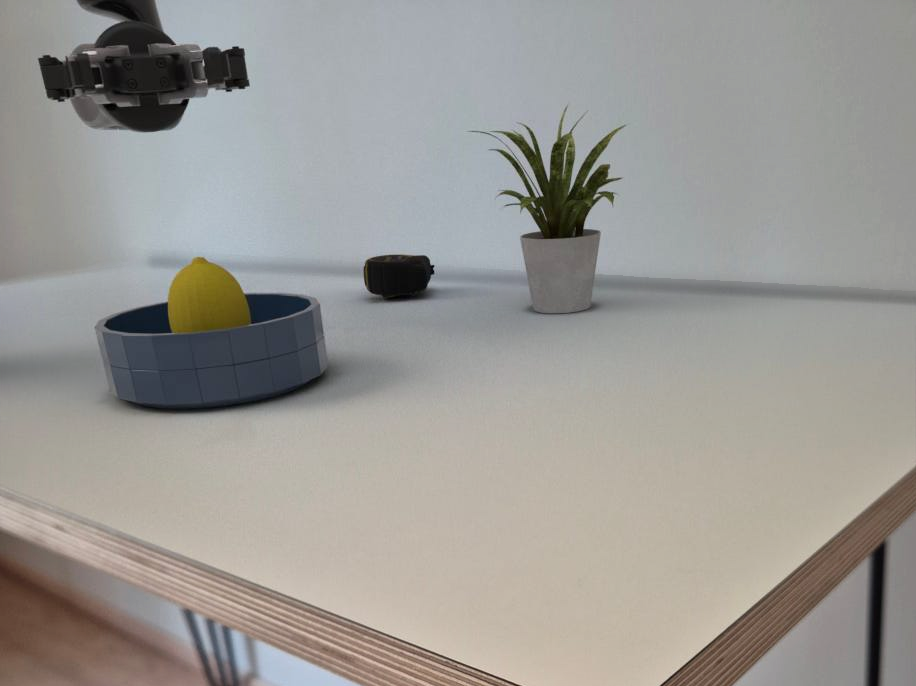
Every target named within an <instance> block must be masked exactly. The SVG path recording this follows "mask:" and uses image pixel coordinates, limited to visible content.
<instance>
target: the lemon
mask: <svg viewBox="0 0 916 686" xmlns="http://www.w3.org/2000/svg"><path fill="white" fill-rule="evenodd" d="M167 295H168V297H167V301H168V316H169V323H170V327H171V330H172V333H184V332H197V331H207V330H216V329H226V328H232V327H238V326H244V325H250V324H251V316H250V311H249V307H248V303H247V300H246V297H245V295H244V290H243V287H242V286H241V285H240V283H239V282H238V280H237V278H236V277H235V276H234V275H233V274H232V273H230V272H229V271H228V270H227V269H226V268H224V267H223V266H221V265H218V264H216V263H213V262H211V261H209V260H207V259H206V258H205V257H204V256H197V257H194V258H192V261H191V263H189V264H188V265H186V266H184V267H183V268H181V269H180V271H179V272H177V273H176V275H175V276H174V277H173V280H171V284H170V287H169V289H168V294H167Z"/></svg>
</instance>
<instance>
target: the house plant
mask: <svg viewBox="0 0 916 686" xmlns="http://www.w3.org/2000/svg"><path fill="white" fill-rule="evenodd" d="M570 102H571V101H569V103H567V105H566V107H565V109H564V110H563V112H562V115H561V117H560V121H559V124H558V130H557V137H556V141H555V142H554V143H553V145H552V149H551V150H550V151H551V152H550V160H549V177H548V175H547V171H546V168H545V165H544V160H543V157H542V154H541V150H540V147H539V143H538V140H537V138H536V136H535V133H534V131H533V130H532V129H531V128H530V127H528V126H527V125H526V124H524V123H522V122H518V121H516V124H519V125H522V126H523V127H524V128H525V129H526V130H527V132H528V135H529V136H530V139H531V141H532V146H533V148H532V147H531V145H530V144H529V143H528V141H527V140H526V139H525V137H524V136H523V134H521V133H519V132H517V131H515V130H514V129H512V131H513V132H509V131H504V130H490V131H487V132H485V131H479V130H468V133H470V132H471V133H479V134H485V135H489V136H490V137H493V138H495V139H497V140H499V142H501V143H502V144H504V145H505V147H506V148H507V149H508V150H509V151H510V152H511V154H510V153H509V152H507V151H505V150H503V149H500V148H490V149H488V151H494V152H497V153H500V154H501V155H502V156H503V157H504V158H505V159H506V160H507V161H508V162H509V163H510V164H511V165H512V167H513V168H514V169H515V171H516V172H517V174H518V176H519V178H520V179H521V181H522V182H523V185H524V188H526V190H527V193H528V195H529V196H524V195H523V194H522V193H520V192H517V191H516V190H510V189H498V190H497V191H499V192H500V191H501V192H500V193H499V194H497V195H496V196H495V198H494V200H496V198H498V197H499V196H501V195H507V196H511V197H514V198H516V199H518V201H519V202H517V203H507V204H505V205H504V206H502V207H501V208H500V210H501V209H503V208H506V207H509V206H510V207H511V206H520V210H519V211H520V212H519V214H521V213H522V211H523V209H526V210H527V211H528V212H529V214H530V215H531V217H532V219H533V221H534V222H535V223H536V226H537V227H538V229H539V230H540V231H531V232H528V233H524V234H521V235H520V237H519V240H520V245H521V250H522V256H523V262H524V267H525V272H526V277H527V278H526V279H527V283H528V288H529V295H530V300H531V304H532V309H533V311H534V312H537V313H542V314H568V313H578V312H583V311H586V310H589V309H590V308H591V303H592V296H593V290H594V285H595V284H594V282H595V278H596V277H595V275H596V269H597V261H598V256H599V255H598V254H599V247H600V240H601V234H602V233H601V232H602V231H601V230H598V229H591V228H585V223H586V219H587V217H588V215H589V214H590V211H591V210H592V209H593V207H594V206H595V205H596V204H597V203H598V202H599V201H600V200H601V199H602V198H606V199H607V200H608V201H609V202H610V203H611V206H612V207H614V200H615V194H616V195H618V196H619V194H618V193H617V192H614V191H608V190H604V191H603V190H602V191H598V190H599V189H600V188H602V187H604V186H606V185H608V184H610V183H613V182H616V181H620V180H622V179H623V177H613V178H612V177H611V178H608V177H609V170H610V169H611V164H609V163H607V164H605V163H603V164H600V165H599V166H598V167H597V168H596V169H595V170H594V172H593V173H592V174H591V175H590V176H589V174H590V172H591V171H592V169H593V167H594V165H595V164H596V162H597V160H598V159H599V157H600V156H601V155H602V153H603V152H604V151H605V150H606V148H607V147H608V145H609V144H610V142H611V140H612V139H613V137H614V136H615V135H616V134H617V133H618V132H619V131H621V130H622V129H624V127H626V126H628V125H629V124H624V125H622V126H619V127H617V128H615V129H613V130H611V132H609V133H608V134H607V135H605V137H603V138H602V139H601V140H599V141H598V143H596V144H595V146H594V147H593V148H592V149H591V150H590V151H589V153H588V155H587V156H586V157H585V159H584V161H583V162H582V164H581V166H580V168H579V170H578V172H577V174H576V177H575V180H574V182H573V185H572V187H571V183H572V176H573V169H574V166H575V165H574V164H575V160H576V146H575V145H576V144H575V139H574V137H573V130H574V129H575V127H577V125H578V123H579V122H580V121H581V119H583V117H584V116H585V115H586V114H587V112H588V111H586V112H584V114H583V115H581V117H580V118H579V119H578V120H577V122H576V123H575V124H574V125H573V127H572V128H571V129H570V131H569V133H566V134H563V135H562V128H563V121H564V118H565V115H566V112H567V110H568V107H569V105H570ZM489 132H490V133H489ZM491 133H498V134H502V135H504V136H506V137H507V138H508V139H509V140H510V141H511V142H513V144H515V146H517V148H518V149H519V150H520V151H521V153H522V154H523V156H524V157H525V159H526V161H527V162H528V164H529V166H530V168H531V170H532V172H533V174H534V177H535V180H536V182H537V184H538V188H539V189H540V192H541V194H542V195H541V194H540V193H539V191H538V189H537V187H536V185H535V183H534V182H533V180H532V178H531V177H530V175H529V174H528V172H527V171H526V169H525V167H524V166H523V165H522V163H521V162H520V160H519V159H518V158H517V156H516V154H515V153H514V152H513V151H512V149H511V148H510V147H509V146H508V144H506V143H505V142H504V141H502V140H501V139H500V138H498V136H495V135H493V134H491ZM512 155H513V156H514V157H513V156H512ZM588 176H589V178H588ZM527 177H528V178H527ZM587 178H588V179H587ZM586 180H587V181H586ZM529 181H530V182H529ZM585 182H586V183H585ZM584 184H585V185H584ZM531 185H532V186H533V187H534V189H533V187H532V186H531ZM534 190H535V191H536V193H537V195H538V196H536V193H535V192H534ZM596 195H598V196H596ZM595 196H596V197H595Z"/></svg>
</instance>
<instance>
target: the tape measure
mask: <svg viewBox="0 0 916 686" xmlns="http://www.w3.org/2000/svg"><path fill="white" fill-rule="evenodd" d="M434 268H435V264H431V259H430V258H429V257H428V256H427V255H425V254H422V255H421V254H418V255H413V254H401V253H400V254H384V255H376V256H373V257H370V258H367V259H366V260H365V262H364V266H363V281H364V282H363V283H364V286H365V287H366V290H367V292H369V293H370V294H372V295H376V296H381V298H382V299H383V300H386V299H389V298H393V297H397V296H404V295H411V296H413V297H415V296H416V295H417V293H420V292H424V291H426V290H427V288H428V286H429V283H430V281H431V278H432V276H434V275H435V270H434Z"/></svg>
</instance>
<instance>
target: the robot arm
mask: <svg viewBox="0 0 916 686" xmlns="http://www.w3.org/2000/svg"><path fill="white" fill-rule="evenodd" d="M76 3H77V4H78V6H79V7H80V8H81V9H82V10H84V11H86V12H88V13H90V14H92V15H96V16H100V17H104V18H107V19H111V20H114V21H116V22H117V23H114V24H113V25H111V26H109V27H107V28H106V29H105V30H103V32H102V33H101V34H100V35H99V36H98V37H97V38H96V40H95V42H94V43H80V44H78V45H77V46H76V47H75V48H73V50H72V51H71V52H70V53H69V55H65V56H64V58H65V60H63V59H61V60H59V59H58V58H57V56H51V55H50V54H43V55H42V57H37V60H38V65H39V69H40V73H41V77H42V81H43V86H44V89H45V94H46V98H47V99H49V100H51V101H57V103H64V102H66V100H69V101H70V104H71V105H72V107H73V110H74V111H75V114H76V115H77V117H78V118H79V119H80V120H81V121H82V122H83V123H84V124H85V126H87V127H89V128H91V129H95V130H98V131H99V130H100V131H130V132H134V133H135V132H136V133H141V134H142V133H143V134H144V133H145V134H146V133H156V132H164V131H165V132H167V131H171V130H173V129H175V128H177V127H178V126H179V124H180V123H181V121H182V120H183V118H184V115H185V112H186V110H187V108H188V105H189V102H190V100H191V99H201V98H206V97H207V96H208V93H209V90H215V91H225V93H232V92H233V90H245V89H246V88H248V87H249V88H250V86H251V84H250V79H249V76H248V70H247V69H248V68H247V63H246V52H245V48H244V47H243V48H242V47H240V46H239V45H236V46H231V48H228V49H225V50H221V48H219V47H218V46H208V47H206V48H204V49H201V48H200V46H199V45H198V44H196V43H180V44H177V43H176V42H175V41H174V40H173V38H171V37H170V36H169V35H168V34H167V33H166V32H164V27H163V24H162V21H161V17H160V15H159V11H158V7H157V3H156V0H76Z"/></svg>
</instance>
